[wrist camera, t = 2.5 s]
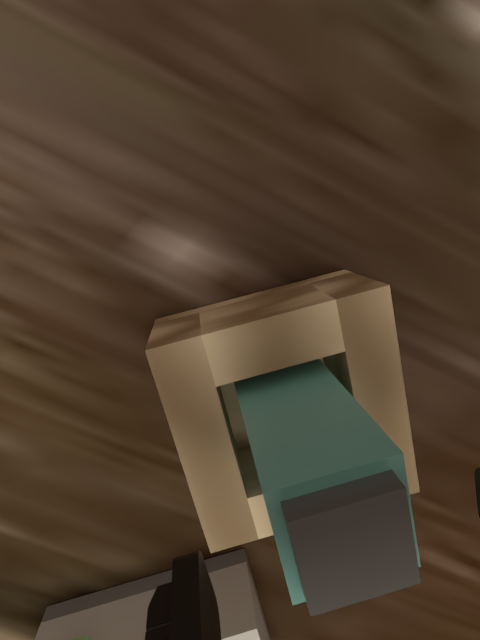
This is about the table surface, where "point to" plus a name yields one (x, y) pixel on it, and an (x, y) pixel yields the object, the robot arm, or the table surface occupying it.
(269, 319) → the holster
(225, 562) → the port
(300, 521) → the plug
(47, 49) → the table surface
